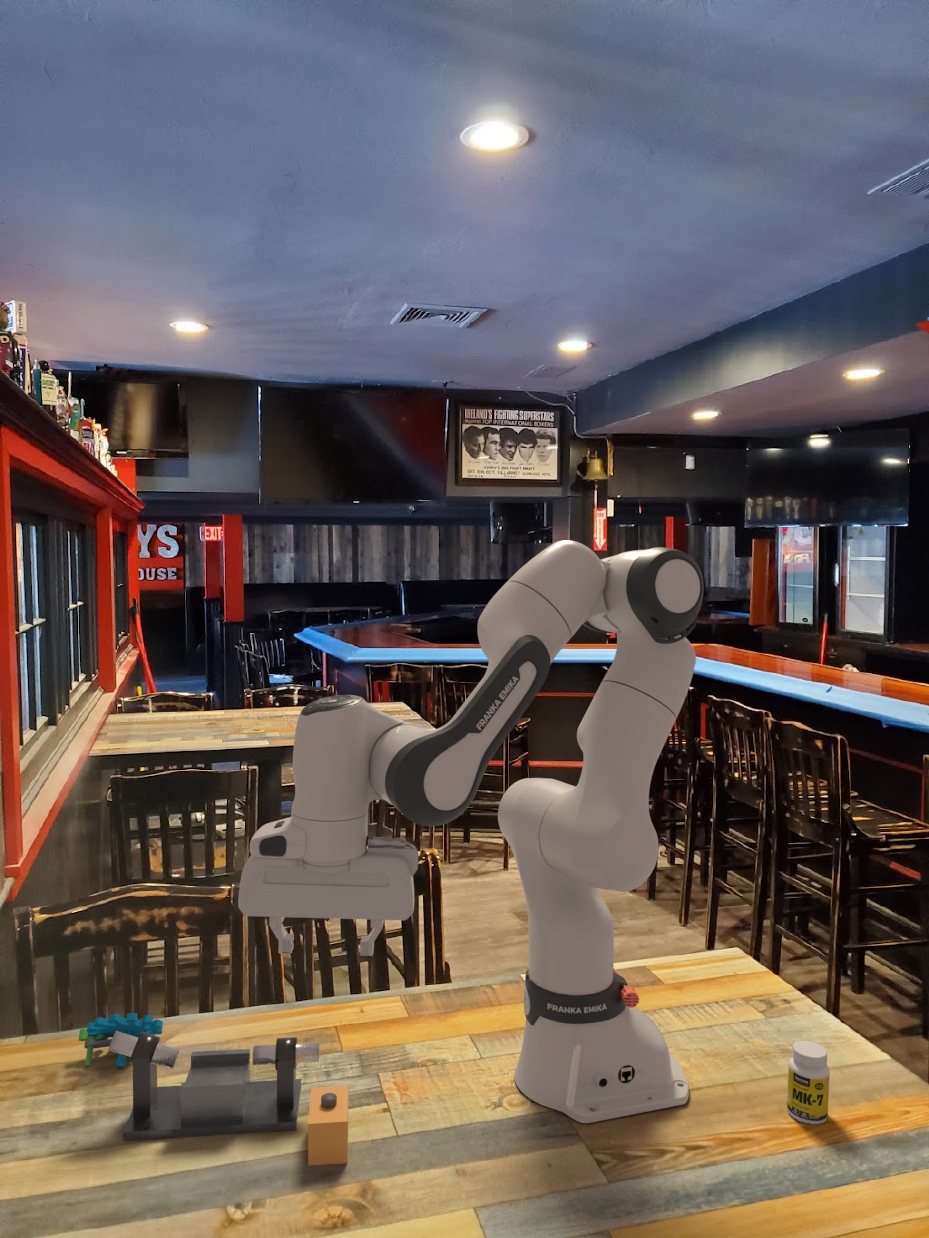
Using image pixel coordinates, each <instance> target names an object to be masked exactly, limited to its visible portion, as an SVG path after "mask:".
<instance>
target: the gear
mask: <svg viewBox="0 0 929 1238" xmlns="http://www.w3.org/2000/svg"><path fill="white" fill-rule="evenodd" d="M163 1026H164V1022H163V1020H161V1019H154V1015H143V1018H142V1019H139V1018H138V1013H137V1012H135V1013H134V1012H132V1013H131V1012H130V1013H126V1017H122V1016H121V1015H120V1014H118V1013H112V1014H110V1015H108V1018H105V1017H100V1016H98V1017H95V1019H94V1021H93V1022H88V1023H87V1027H86V1028H80V1030H79V1034H78V1035H79V1036H78V1041H79V1042H84V1047H83V1048H84V1049H87V1050H86V1056H85V1063H84V1066H85V1067H91V1066H92V1065H91V1064H92V1058H93V1052H94V1049H95V1050H96V1049H99V1048H107V1047H108V1048H109V1046H110V1043H111V1041H112V1038H113V1036H114V1034H115V1032H116V1031H118V1032H121V1033H125V1034H128V1035H131V1036H135V1037H138V1038H139V1035H140V1033H141V1032H144V1033H148V1034H151V1035H155V1036H156V1035H162V1034H163ZM126 1057H127V1056H126V1055H122V1054H119V1053H117V1059H116V1068H117V1069H124V1068H125V1063H126Z"/></svg>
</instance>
